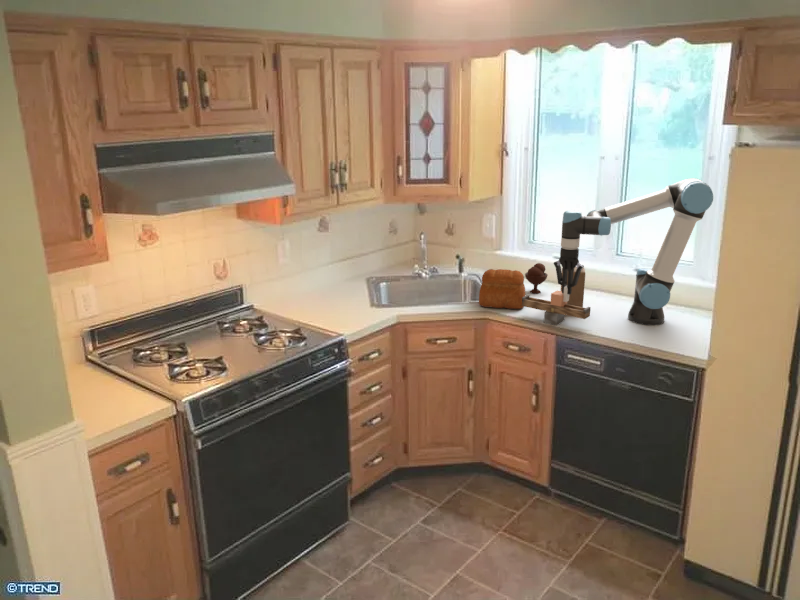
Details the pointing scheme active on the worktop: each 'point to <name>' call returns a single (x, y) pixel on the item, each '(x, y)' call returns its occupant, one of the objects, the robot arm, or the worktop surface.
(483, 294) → the bread
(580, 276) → the wooden block
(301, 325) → the worktop surface
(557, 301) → the block
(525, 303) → the beam
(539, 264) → the ice cream bowl
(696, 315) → the worktop surface
